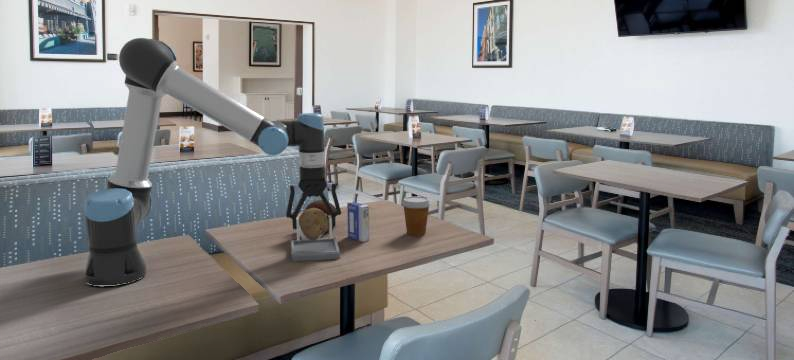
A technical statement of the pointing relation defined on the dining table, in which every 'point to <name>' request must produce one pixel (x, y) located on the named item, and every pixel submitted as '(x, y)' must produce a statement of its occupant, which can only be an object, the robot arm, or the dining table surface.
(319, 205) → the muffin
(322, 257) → the slate square tray
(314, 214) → the natural sponge
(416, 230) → the disposable coffee cup
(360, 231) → the walkman
